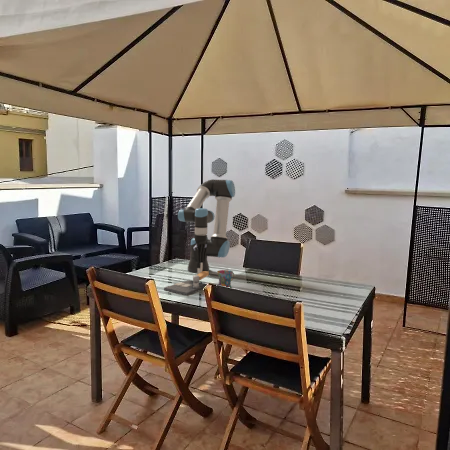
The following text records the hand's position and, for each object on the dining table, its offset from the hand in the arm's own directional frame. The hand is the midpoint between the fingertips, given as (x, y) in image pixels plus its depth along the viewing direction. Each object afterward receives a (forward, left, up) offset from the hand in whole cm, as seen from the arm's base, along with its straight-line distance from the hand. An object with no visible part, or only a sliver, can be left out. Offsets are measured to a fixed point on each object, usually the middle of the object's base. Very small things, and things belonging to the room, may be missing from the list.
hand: (199, 273), depth 232 cm
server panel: (+13, +1, -7) cm, 14 cm away
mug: (0, +19, -7) cm, 20 cm away
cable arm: (+6, +5, -1) cm, 8 cm away
